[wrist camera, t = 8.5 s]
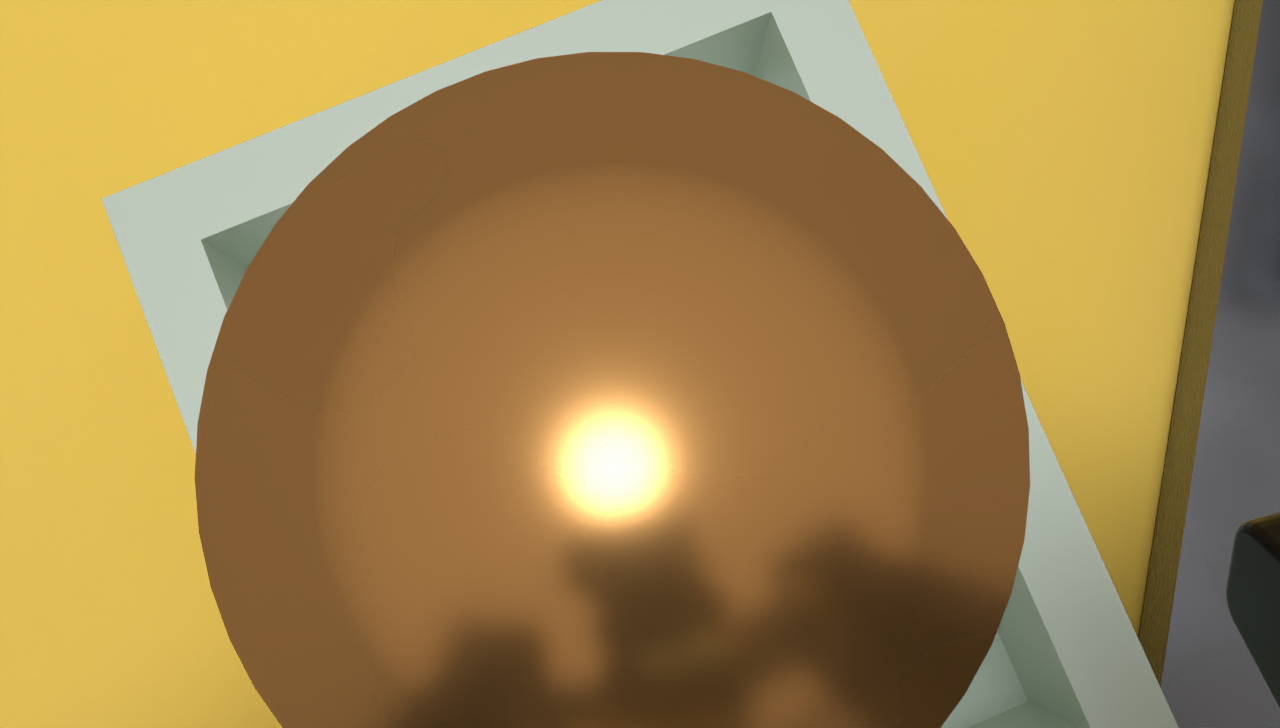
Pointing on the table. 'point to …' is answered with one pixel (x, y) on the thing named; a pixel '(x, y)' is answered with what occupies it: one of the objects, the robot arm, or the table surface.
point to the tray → (737, 39)
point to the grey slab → (1224, 402)
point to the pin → (612, 420)
